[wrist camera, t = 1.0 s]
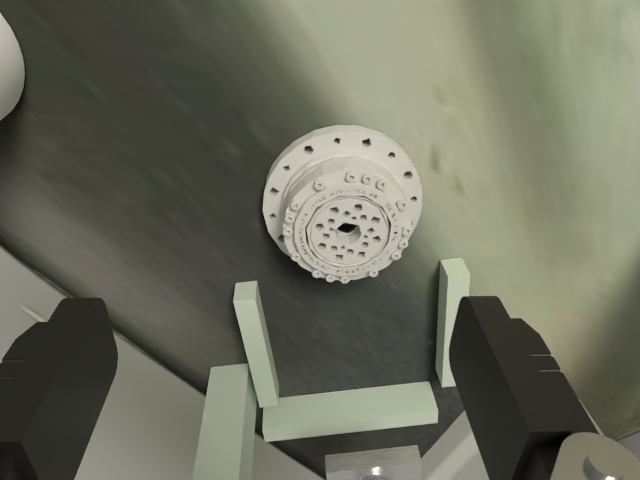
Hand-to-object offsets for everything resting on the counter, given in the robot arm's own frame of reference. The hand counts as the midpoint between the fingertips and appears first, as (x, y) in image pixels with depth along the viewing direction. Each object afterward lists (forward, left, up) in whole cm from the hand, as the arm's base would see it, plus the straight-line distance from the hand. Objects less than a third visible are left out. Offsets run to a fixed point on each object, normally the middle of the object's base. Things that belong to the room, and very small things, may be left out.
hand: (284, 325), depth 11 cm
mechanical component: (-3, +7, -20) cm, 21 cm away
